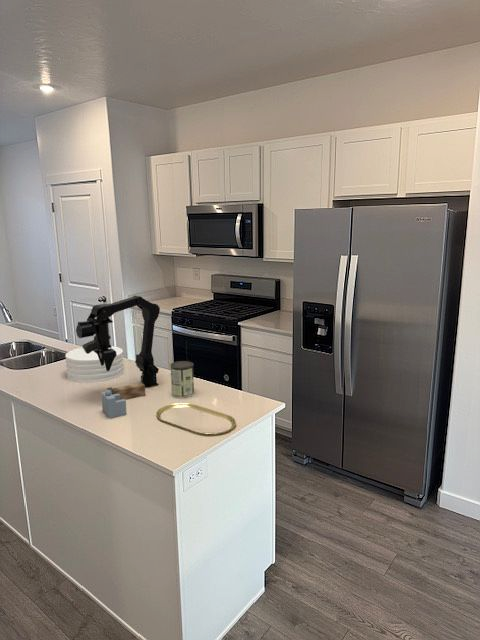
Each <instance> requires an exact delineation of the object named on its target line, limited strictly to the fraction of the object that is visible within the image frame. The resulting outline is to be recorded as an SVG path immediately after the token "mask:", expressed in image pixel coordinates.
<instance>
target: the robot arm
mask: <svg viewBox="0 0 480 640" xmlns="http://www.w3.org/2000/svg"><path fill="white" fill-rule="evenodd" d="M133 307H137V308H138V309H140V310H141V314H142V319H143V330H142V339H141V350H140V352H139V354H136V355H135V362H134V363H135V365H136V367H137V369H139V372H141V375H140V383H143V384H144V385H145V388H151V387H154V386H159V383H158V381H157V377H158V376H157V374H158V373H159V368H158V367H157V366H156V365H155V361H154V356H153V353H152V352H153V351H152V350H153V343H154V335H155V334H154V331H155V323H156V321H157V320H158V318H159V315H160V312H161V309H160V306H159V305H158V304H157V303H153V302H150V301H149V300H147V299H145V298H144V297H142V296H139V295H133V296H131V297H128V298H125V299H121V300H118V301H116V302H115V301H114V302H112V303H100V304H96V305H93V306H92V308H91V312H90V313H89V316H88V317H87V319H86V321H78V322H77V325H76V327H75V328H76V329H75V331H76V333H75V334H76V336H77V337H78V338H79V339H83V338H88V337H93V340H90V341H88V342H86V343H84V344H83V345H81V346H82V347H83V349H84V351H85V352H86V353H87V354H89V353H90V352H92V351H94V352H95V353H96V354H97V355H98V358H99V361H100V364H101V366H103V365H104V363H105V367H106V370H107V371H109V370H110V368H111V365H112V363H113V360H114V358H115V357H116V356H117V355H116V351H115V350H113V349H112V348H111V346H112V345H111V341H110V339H111V335H110V329H109V324H112V323H113V320H112V319H111V318H110V317H112V316H113V315H115V314H116V313H118V312H121V311H124V310H128V309H130V308H133ZM111 340H112V339H111ZM82 347H81V348H82ZM108 348H110V349H108Z"/></svg>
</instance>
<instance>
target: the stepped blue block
mask: <svg viewBox="0 0 480 640" xmlns="http://www.w3.org/2000/svg"><path fill="white" fill-rule="evenodd" d="M100 393H101V403H102V404H101V406H102V412H103V413H104V414H105V415H106V416H107V418H108V419H113V418H117V417H118V418H119V417H121V416H126V415H127V400H125V399H122V400H120V394H114V395H112V392H111V391H110V390H107V389H106V390H105V391H102V392H100Z"/></svg>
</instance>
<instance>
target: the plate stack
mask: <svg viewBox="0 0 480 640" xmlns="http://www.w3.org/2000/svg"><path fill="white" fill-rule="evenodd" d="M111 348H112V349H113V350H115V351H116V355H117V356H116V357H115V358H114V360H113V363H112V365H111V368H110V370H109V371H107V370H106V367H105V363H104V365H103V366H101V364H100V361H99V358H98V355H97V354H96V353H95V352H94V351H92V352H90V353H89V354H87V353H86V352H85V351H84V349H83V347H77V348H75V349H72V350H70V351H68V352H66V354H65V363H66V365H65V366H66V377H68V378H67V379H68V380H69V379H70V380H69V381H71V380H72V382H75V381H76V383H83V382H84V383H85V384H86V383H101V382H105V381H110V380H114V379H117V378H119V377H120V376H122V375H123V374H124V373H125V368H124V365H125V364H124V351H123V349H122V348H121V347H118V346H113V345H111ZM108 349H110V348H108Z"/></svg>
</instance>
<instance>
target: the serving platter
mask: <svg viewBox="0 0 480 640" xmlns="http://www.w3.org/2000/svg"><path fill="white" fill-rule="evenodd" d="M177 408H178V409H179V408H188V409H193V410H196V411H200V412H203V413H205V414H206V413H207V414H210V415H212V416H216V417H219V418H222V419H225V420H227V421H229V422H230V424H231V426H230V428H229V429H227V430H223V431H221V432H210V433H208V432H199V431H195V430H193V429H190V428H187V427H185V426H181V425H179V424H176V423H172V422H170V421H168V420H164V419H163V418H162V417H161V416H162V414H163V413H164V412H166V411H168V410H170V409H171V410H172V409H177ZM156 417H157V418H158V420H160V421H161V422H164V423H166V424H169V425H172V426H175V427H178V428H180V429H183V430H185V431H188V432H191V433H195V434H197V435H201V436H202V435H203V436H216V435H217V436H220V435H222V434H226V433H228V432H230V431H231V430H233V429H234V428H235V426H236V424H237V422H236V418H234V416H231V415H229V414H227V413H223V412H220V411H217V410H214V409H210V408H208V407H204V406H201V405H198V404H194V403H188V402H187V403H185V402H183V403H182V402H180V403H171V404H167V405H165V406H162V407H160V408H159V409H158V410H157V411H156Z"/></svg>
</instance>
